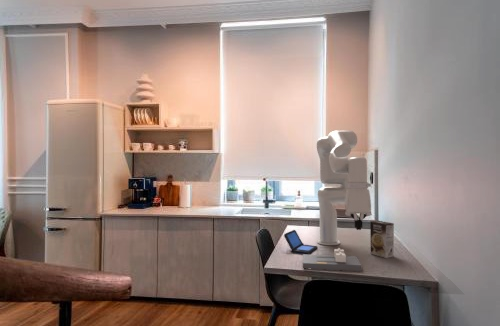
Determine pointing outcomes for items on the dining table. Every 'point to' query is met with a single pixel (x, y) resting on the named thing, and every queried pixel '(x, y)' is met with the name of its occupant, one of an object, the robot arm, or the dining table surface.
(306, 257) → the switch panel
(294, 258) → the dining table surface
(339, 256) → the white small block
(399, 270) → the dining table surface
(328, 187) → the robot arm
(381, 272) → the dining table surface
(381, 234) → the coffee box
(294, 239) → the handheld game console
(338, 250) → the inner tab
